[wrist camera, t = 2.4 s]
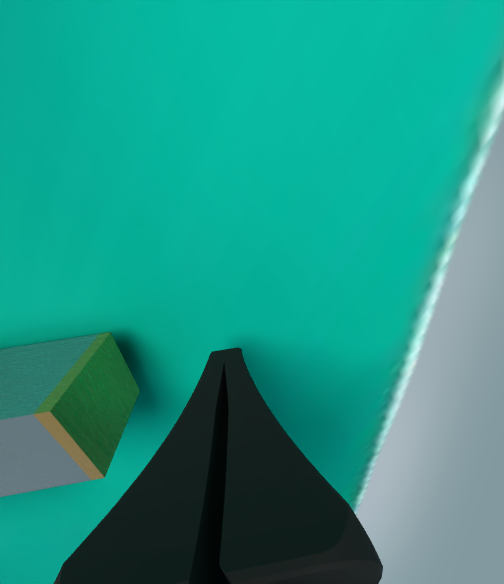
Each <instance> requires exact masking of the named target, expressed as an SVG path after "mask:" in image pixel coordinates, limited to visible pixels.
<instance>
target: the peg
mask: <svg viewBox="0 0 504 584" xmlns="http://www.w3.org/2000/svg"><path fill="white" fill-rule="evenodd" d="M139 392H140V390H139V388H138V386H137V384H136V382H135V380H134V378H133V376H132V374H131V372H130V370H129V368H128V366H127V364H126V362H125V360H124V358H123V356H122V354H121V352H120V350H119V348H118V346H117V344H116V342H115V340H114V338H113V336H112V334H111V332H108V333H102V334H95V335H89V336H82V337H76V338H70V339H63V340H57V341H51V342H44V343H38V344H31V345H25V346H19V347H12V348H6V349H0V497H2V496H8V495H13V494H19V493H24V492H29V491H35V490H40V489H46V488H51V487H57V486H62V485H67V484H73V483H78V482H84V481H89V480H94V479H100V478H105V476H106V473H107V471H108V468H109V466H110V463H111V461H112V458H113V456H114V453H115V451H116V449H117V446H118V444H119V441H120V439H121V436H122V434H123V431H124V429H125V426H126V424H127V422H128V419H129V417H130V414H131V412H132V409H133V407H134V404H135V402H136V399H137V397H138V395H139Z"/></svg>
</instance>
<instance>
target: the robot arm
mask: <svg viewBox="0 0 504 584" xmlns="http://www.w3.org/2000/svg"><path fill="white" fill-rule="evenodd" d="M382 570H383V566H382V564H381V561H380V559H379V557H378V554H377V552H376V550H375V548H374V546H373V544H372V542H371V540H370V538H369V537H368V535H367V533H366V531H365V530H364V528H363V526H362V525H361V523H360V522H359V520H358V518H357V517H356V515H355V514H354V512H353V510H352V509H351V507H350V506H349V504H348V503H347V502H346V501H345V500H344V499H343V498H342V496H341V495H340V494H339V493H338V492H337V491H336V490H335V489H334V488H333V487H332V486H331V485H330V484H329V483H328V482H327V481H326V479H325V478H324V477H323V476H322V475H321V474H320V473H319V472H318V471H317V470H316V468H315V467H314V466H313V465H312V464H311V463H310V462H309V460H308V459H307V458H306V457H305V456H304V454H303V453H302V452H301V451H300V449H299V448H298V447H297V446H296V445H295V443H294V442H293V441H292V440H291V438H290V437H289V436H288V435H287V433H286V432H285V431H284V429H283V428H282V426H281V425H280V424H279V422H278V421H277V420H276V418H275V417H274V415H273V414H272V412H271V411H270V409H269V408H268V406H267V405H266V403H265V401H264V400H263V398H262V396H261V395H260V393H259V391H258V389H257V388H256V386H255V384H254V382H253V380H252V378H251V376H250V374H249V372H248V369H247V367H246V364H245V362H244V359H243V355H242V349H241V348H239V347H238V348H232V349H226V350H220V351H214V352H212V353H211V354H210V356H209V359H208V361H207V364H206V366H205V369H204V371H203V373H202V375H201V378H200V380H199V382H198V384H197V386H196V388H195V390H194V392H193V394H192V396H191V398H190V399H189V401H188V403H187V405H186V407H185V408H184V410H183V412H182V414H181V415H180V417H179V419H178V420H177V422H176V424H175V425H174V427H173V428H172V430H171V431H170V433H169V434H168V436H167V438H166V439H165V441H164V442H163V443H162V445H161V446H160V448H159V449H158V450H157V452H156V453H155V455H154V456H153V458H152V459H151V460H150V462H149V463H148V464H147V466H146V467H145V468H144V470H143V471H142V472H141V474H140V475H139V476H138V477H137V479H136V480H135V481H134V482H133V484H132V485H131V486H130V487H129V489H128V490H127V491H126V492H125V493H124V495H123V496H122V497H121V498H120V500H119V501H118V502H117V503H116V505H115V506H114V507H113V508H112V509H111V511H110V512H109V513H108V514H107V515H106V516H105V518H104V519H103V520H102V521H101V522H100V523H99V524H98V525H97V527H96V528H95V529H94V530H93V531H92V532H91V533H90V534H89V536H88V537H87V538H86V539H85V540H84V541H83V542H82V543H81V545H80V546H79V547H78V548H77V549H76V550H75V551H74V552H73V554H72V555H71V556H70V557H69V558H68V559H67V560H66V561H65V562H64V564H63V565H62V567H61V570H60V572H59V574H58V576H57V578H56V580H55V582H54V584H378V583H379V581H380V579H381V577H382Z"/></svg>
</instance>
